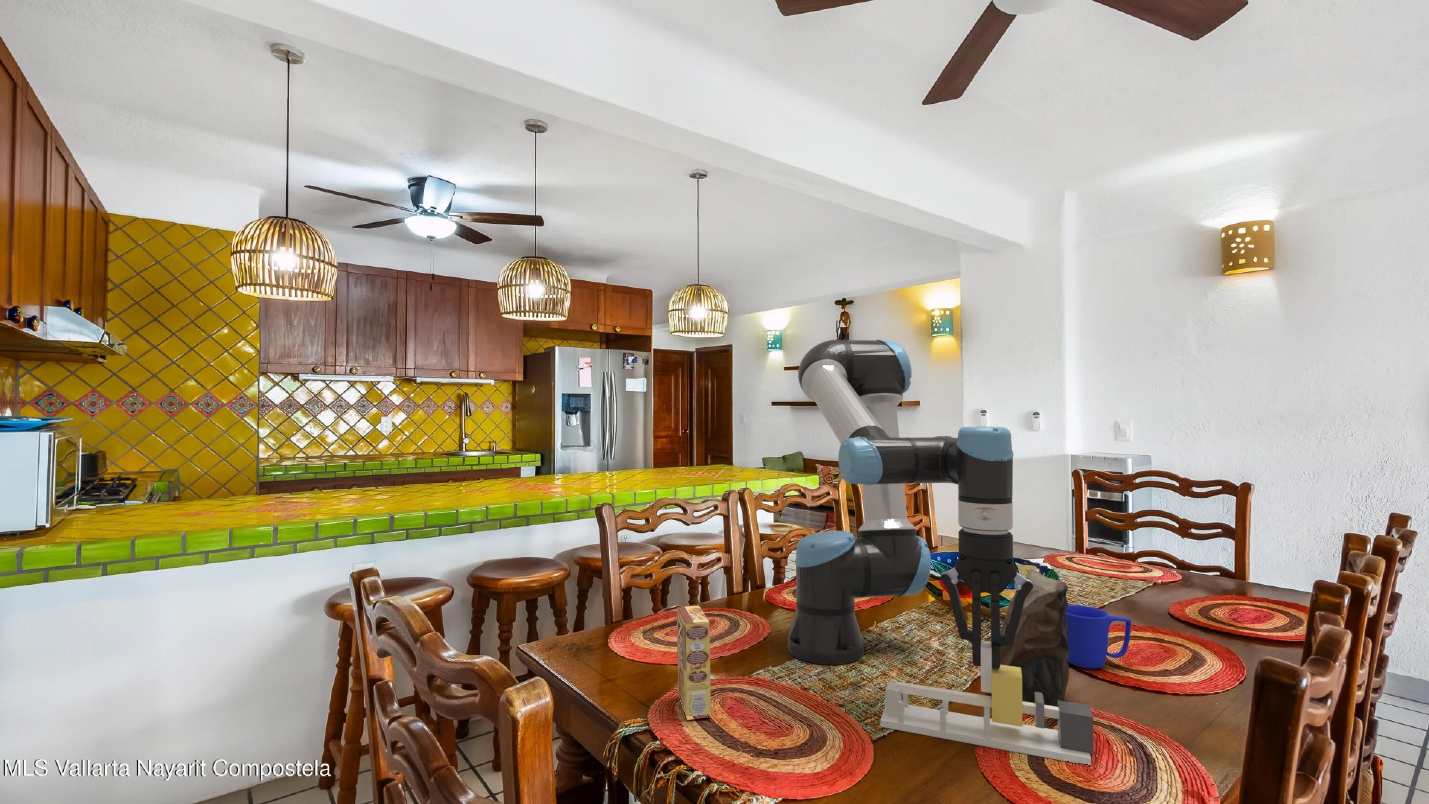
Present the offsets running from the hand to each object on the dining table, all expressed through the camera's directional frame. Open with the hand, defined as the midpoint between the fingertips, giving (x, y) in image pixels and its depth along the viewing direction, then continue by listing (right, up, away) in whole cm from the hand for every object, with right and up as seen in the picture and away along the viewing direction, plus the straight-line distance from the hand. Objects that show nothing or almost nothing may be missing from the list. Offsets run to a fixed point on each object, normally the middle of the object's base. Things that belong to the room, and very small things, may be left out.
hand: (986, 688), depth 96 cm
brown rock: (+13, -7, +14) cm, 20 cm away
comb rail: (-1, -7, 0) cm, 7 cm away
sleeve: (+3, -4, -1) cm, 5 cm away
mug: (+32, -8, +26) cm, 42 cm away
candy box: (-44, -7, +9) cm, 45 cm away
